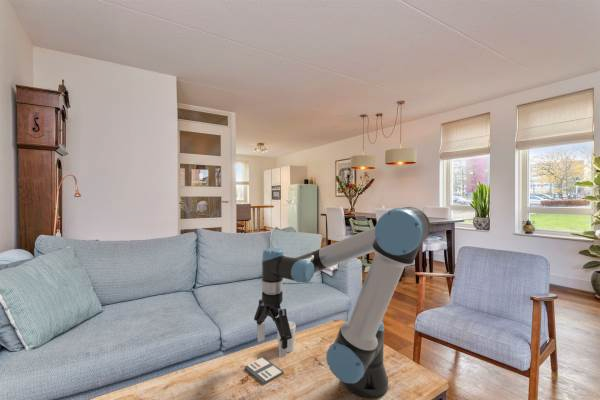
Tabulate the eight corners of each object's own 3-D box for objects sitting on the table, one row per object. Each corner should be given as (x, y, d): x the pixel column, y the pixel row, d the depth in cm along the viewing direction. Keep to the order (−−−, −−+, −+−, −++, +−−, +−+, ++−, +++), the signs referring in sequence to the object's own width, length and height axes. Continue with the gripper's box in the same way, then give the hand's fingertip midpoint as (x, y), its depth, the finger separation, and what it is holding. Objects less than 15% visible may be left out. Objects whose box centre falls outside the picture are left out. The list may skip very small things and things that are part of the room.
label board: (283, 373, 104) (283, 370, 104) (263, 384, 98) (263, 381, 98) (264, 359, 113) (264, 356, 113) (244, 368, 107) (244, 365, 107)
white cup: (296, 343, 125) (296, 321, 124) (294, 354, 117) (294, 330, 116) (278, 342, 125) (278, 320, 125) (275, 352, 117) (275, 328, 117)
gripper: (302, 298, 97) (301, 359, 98) (261, 280, 116) (261, 331, 117) (285, 304, 92) (284, 368, 93) (245, 284, 111) (245, 337, 112)
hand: (271, 348), depth 105 cm, fingers open, 13 cm apart
